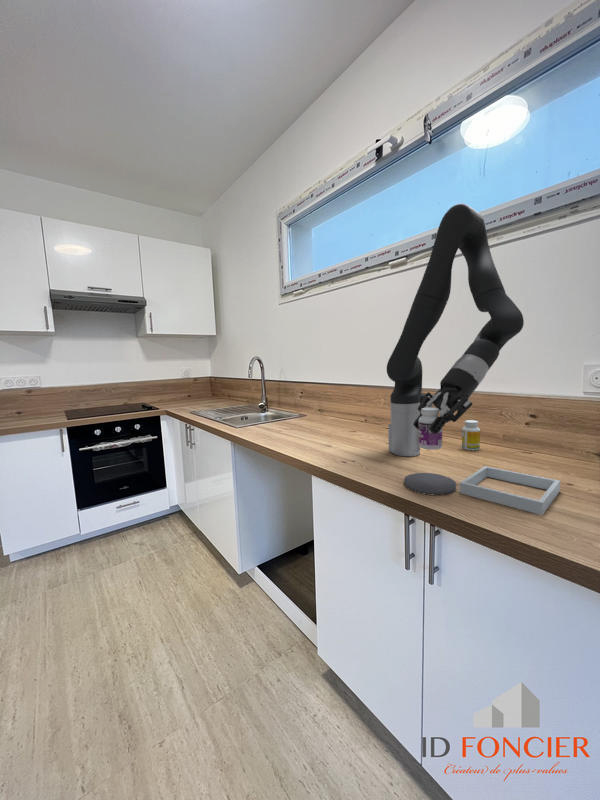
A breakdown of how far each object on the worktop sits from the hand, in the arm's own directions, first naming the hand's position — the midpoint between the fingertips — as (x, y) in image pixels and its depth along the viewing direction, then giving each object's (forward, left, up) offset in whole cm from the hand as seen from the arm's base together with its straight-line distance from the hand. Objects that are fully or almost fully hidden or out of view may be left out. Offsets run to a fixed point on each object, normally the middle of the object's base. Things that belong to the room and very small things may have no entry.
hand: (424, 429), depth 77 cm
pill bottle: (+1, +2, -5) cm, 5 cm away
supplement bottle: (-4, +41, -15) cm, 43 cm away
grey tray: (+16, +10, -14) cm, 23 cm away
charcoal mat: (+1, +2, -14) cm, 14 cm away
